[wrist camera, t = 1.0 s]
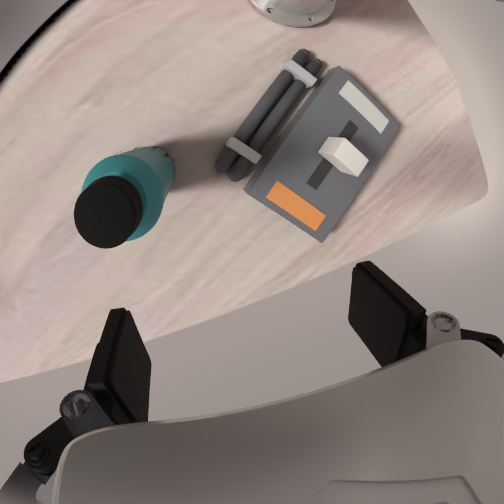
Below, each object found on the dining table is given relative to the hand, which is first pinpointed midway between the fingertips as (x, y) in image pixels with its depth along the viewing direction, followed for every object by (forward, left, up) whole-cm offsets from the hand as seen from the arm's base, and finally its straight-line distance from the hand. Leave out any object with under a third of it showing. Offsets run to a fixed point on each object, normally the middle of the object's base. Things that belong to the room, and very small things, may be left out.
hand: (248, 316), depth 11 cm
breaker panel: (-13, +10, -26) cm, 30 cm away
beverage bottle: (+1, -7, -26) cm, 27 cm away
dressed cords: (-13, +1, -26) cm, 29 cm away
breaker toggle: (-13, +10, -22) cm, 27 cm away
